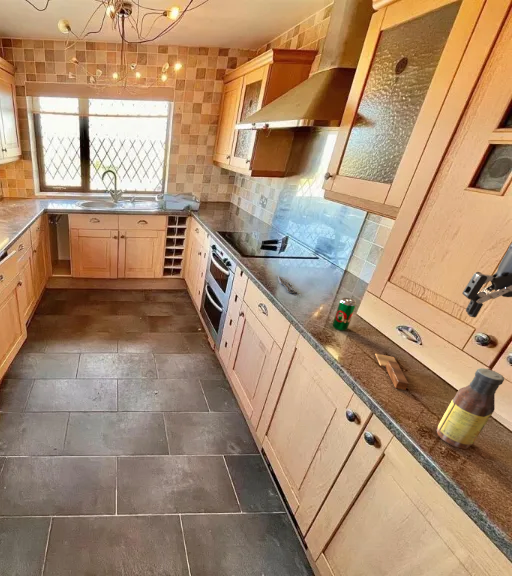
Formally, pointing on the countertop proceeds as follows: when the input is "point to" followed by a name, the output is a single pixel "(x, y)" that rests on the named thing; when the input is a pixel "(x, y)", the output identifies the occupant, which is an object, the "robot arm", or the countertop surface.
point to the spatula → (393, 371)
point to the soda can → (344, 314)
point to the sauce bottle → (470, 409)
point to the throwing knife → (286, 285)
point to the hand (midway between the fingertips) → (495, 319)
